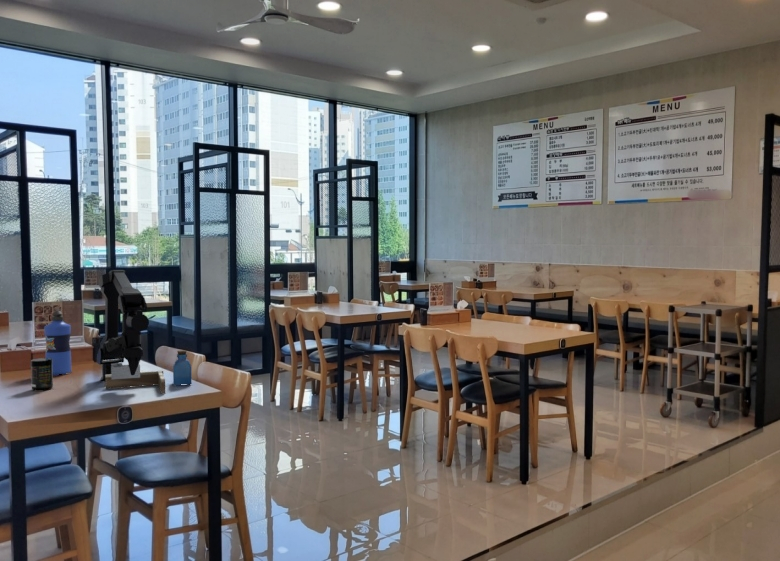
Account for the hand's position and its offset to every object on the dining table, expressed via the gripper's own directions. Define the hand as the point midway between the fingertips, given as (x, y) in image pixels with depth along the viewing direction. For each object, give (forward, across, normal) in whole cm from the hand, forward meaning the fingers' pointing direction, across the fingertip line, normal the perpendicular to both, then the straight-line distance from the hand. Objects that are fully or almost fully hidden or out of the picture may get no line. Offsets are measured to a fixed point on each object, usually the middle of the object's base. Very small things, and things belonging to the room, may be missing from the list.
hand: (132, 374), depth 221 cm
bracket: (+1, -3, -2) cm, 3 cm away
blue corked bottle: (+6, -8, +17) cm, 20 cm away
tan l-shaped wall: (+6, -2, +1) cm, 7 cm away
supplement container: (+6, -19, -29) cm, 35 cm away
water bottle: (+7, -51, -26) cm, 57 cm away
